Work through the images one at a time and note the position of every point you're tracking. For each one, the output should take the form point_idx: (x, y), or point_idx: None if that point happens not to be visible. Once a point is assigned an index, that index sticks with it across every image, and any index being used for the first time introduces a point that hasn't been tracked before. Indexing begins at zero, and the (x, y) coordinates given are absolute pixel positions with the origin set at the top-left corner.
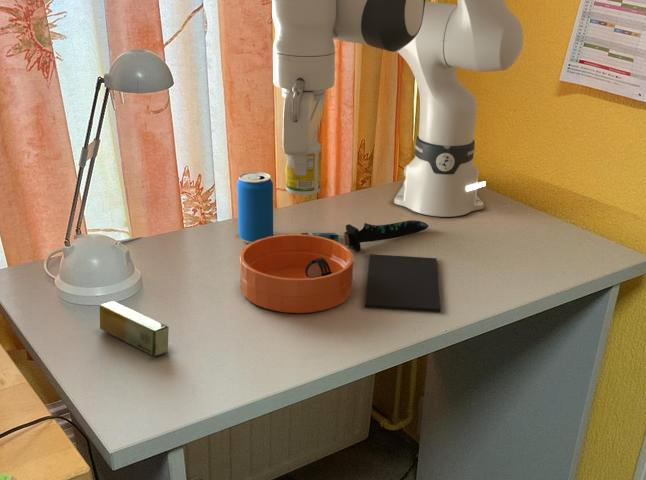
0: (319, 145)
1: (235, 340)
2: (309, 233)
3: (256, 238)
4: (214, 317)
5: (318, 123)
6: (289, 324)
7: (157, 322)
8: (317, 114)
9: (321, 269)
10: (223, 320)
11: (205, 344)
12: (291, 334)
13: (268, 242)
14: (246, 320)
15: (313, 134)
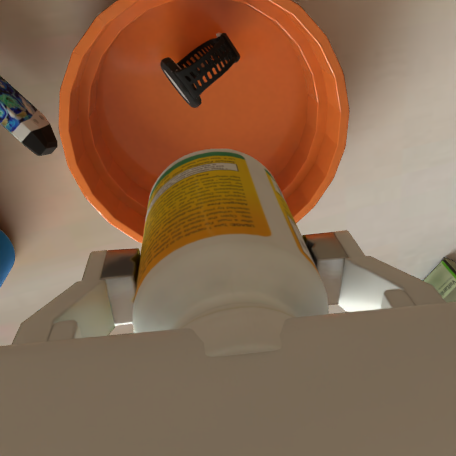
0: (243, 258)
1: (416, 178)
2: (21, 134)
3: (8, 245)
4: (337, 228)
5: (54, 366)
6: (360, 98)
7: (449, 295)
8: (114, 443)
9: (231, 64)
10: (347, 212)
11: (426, 216)
12: (399, 86)
13: (122, 217)
14: (346, 177)
15: (416, 341)
